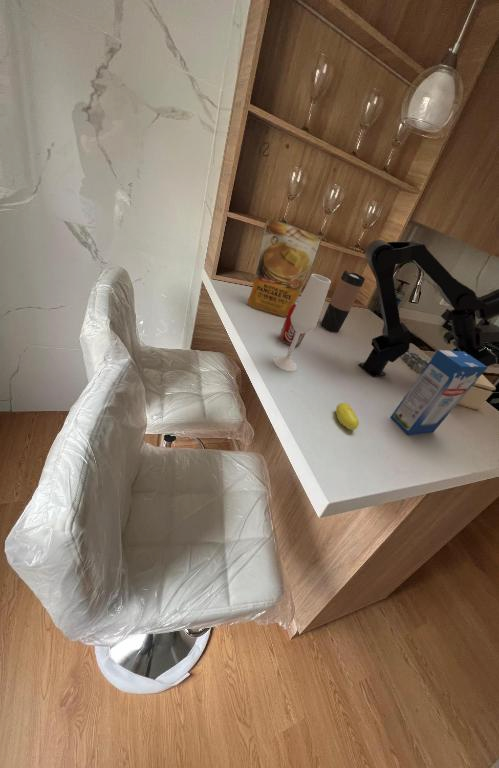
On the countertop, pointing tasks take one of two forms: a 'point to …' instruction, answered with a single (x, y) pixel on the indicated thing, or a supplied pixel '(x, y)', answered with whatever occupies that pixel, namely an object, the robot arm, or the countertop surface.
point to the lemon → (347, 416)
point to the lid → (484, 383)
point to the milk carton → (437, 391)
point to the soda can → (290, 329)
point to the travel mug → (342, 301)
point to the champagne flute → (305, 315)
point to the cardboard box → (475, 397)
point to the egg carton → (415, 361)
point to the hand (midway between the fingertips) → (472, 369)
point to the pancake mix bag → (282, 267)
